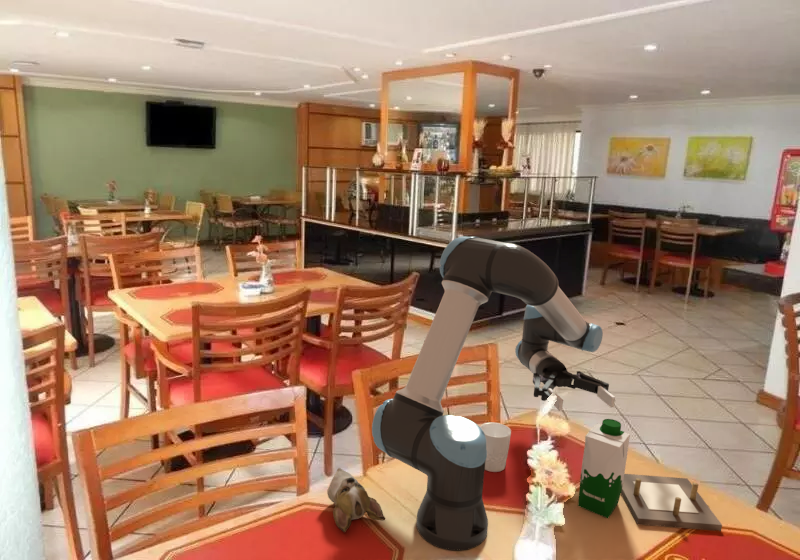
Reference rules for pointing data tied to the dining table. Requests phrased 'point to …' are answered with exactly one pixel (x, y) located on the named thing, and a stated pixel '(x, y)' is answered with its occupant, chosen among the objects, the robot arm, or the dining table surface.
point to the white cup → (496, 445)
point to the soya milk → (603, 467)
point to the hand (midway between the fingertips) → (587, 403)
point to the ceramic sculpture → (351, 500)
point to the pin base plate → (667, 502)
